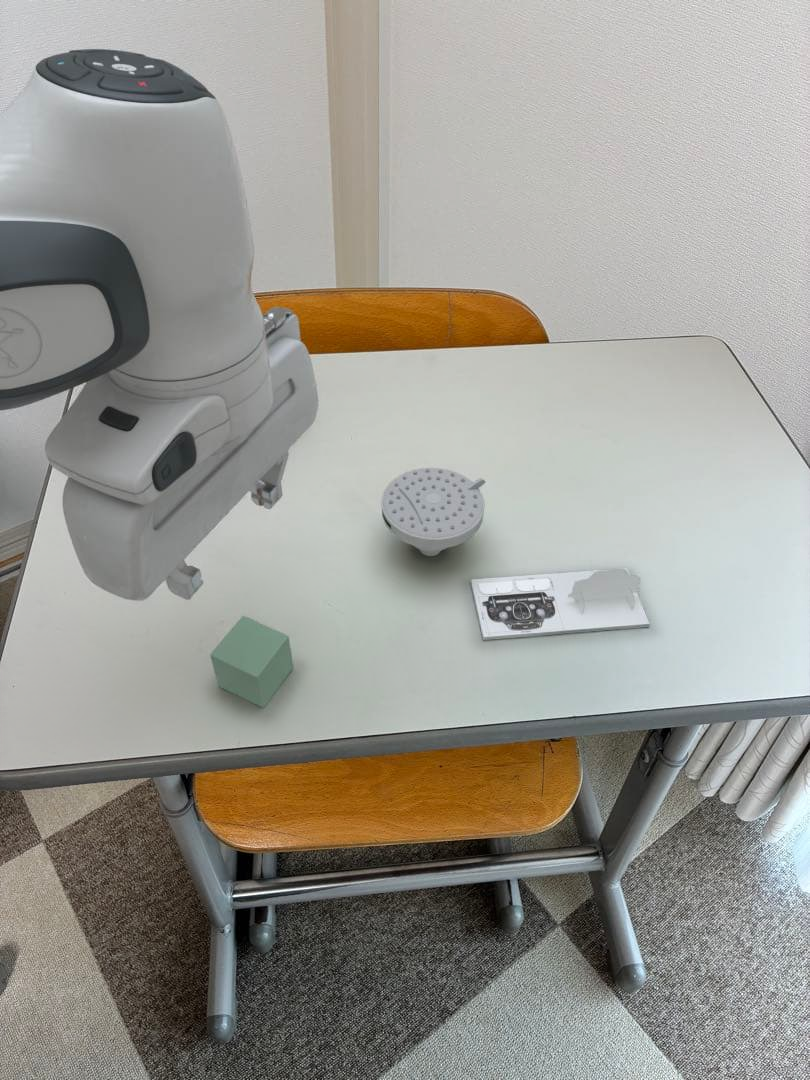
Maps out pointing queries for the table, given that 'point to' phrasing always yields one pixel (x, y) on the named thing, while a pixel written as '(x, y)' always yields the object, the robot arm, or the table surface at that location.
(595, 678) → the table surface
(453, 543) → the showerhead
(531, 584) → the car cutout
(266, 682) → the soap block
